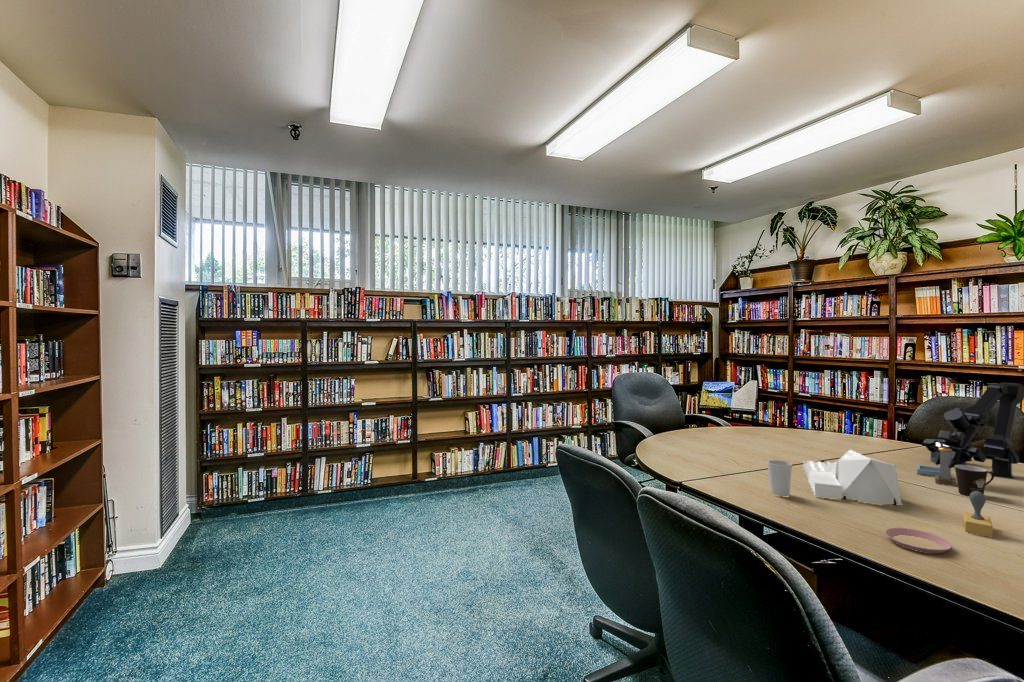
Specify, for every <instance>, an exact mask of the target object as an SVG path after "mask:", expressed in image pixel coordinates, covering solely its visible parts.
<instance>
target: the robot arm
mask: <svg viewBox="0 0 1024 682" xmlns="http://www.w3.org/2000/svg"><path fill="white" fill-rule="evenodd" d="M1023 401H1024V385H1023V383H1013V382H999V383H989V384H987V386H986V390H984V392H983V393H982V395H981V396H980V397H979V398H978V399H977V400H976V401H975V403H974V404H973V405H972V406H969V407H966V408H965V409H964V410H963V409H962V407H954V409H950V410H947V411H945V413H944V414H943V417H944V418H945V420H946V421H947V422H948V424H949V425H950V426H951V428H953V429H954V431H949V430H943V429H940V430H939V432H938V435H937V439H943V441H942V442H943V443H945V445H943V444H941V443H939V442H938V441H937V440H932V439H933V438H925V439H924V440H923V442H922V444H923V445H924V447H925V448H926V449H927V451H929V452H930V453H931V452H934V453H936V459H935V462H934V464H935V465H936V466H940V451H939V450H938V447H949V448H952V452H955V456H954V458H953V459H952V461H951V462H950V464H949V466H948V467H949V468H951V469H952V468H955V465H959V464H962V463H965V462H966V463H968V462H972V461H973V460H974V462H978V463H985V461H986V460H991V470H989V472H992V473H993V475H994V477H999V478H1001V477H1002V478H1007V477H1010V478H1009V479H1015V476H1014V474H1013V465H1015V464H1016V465H1018V464H1019V461H1020V456H1018V454H1017V452H1016V451H1015V445H1014V444H1013V442H1012V440H1011V434H1012V430H1013V424H1014V419H1015V414H1016V410H1017V405H1019V404H1020V403H1021V402H1023ZM997 402H999V405H998V409H997V414H996V418H995V423H994V429H993V432H992V435H991V436H990V437H986V438H984V445H983V447H982V449H983V450H982V449H981V448H979V447H976V446H972V442H971V441H972V440H973V438H974V437H975V436H978V437H979V436H980V433H979V431H978V428H976V427H985V426H987V424H988V423H989V420H990V415H989V413H990V412H991V410H992V409H993V408H994V406H995V405H996V404H997ZM1012 464H1013V465H1012Z"/></svg>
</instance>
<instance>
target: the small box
mask: <svg viewBox="0 0 1024 682" xmlns="http://www.w3.org/2000/svg"><path fill="white" fill-rule="evenodd" d="M931 439H932V440H937V441H938V442H939V443H941V444H943V445H945V443H943V442H942V441H943V439H941V438H937V439H935V438H931ZM954 456H955V452H951V461H952V459H953V458H954ZM935 459H936V453H934V452H930V461H931V462H933V463H935ZM966 463H967V462H965V463H962V464H959V465H966Z"/></svg>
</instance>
